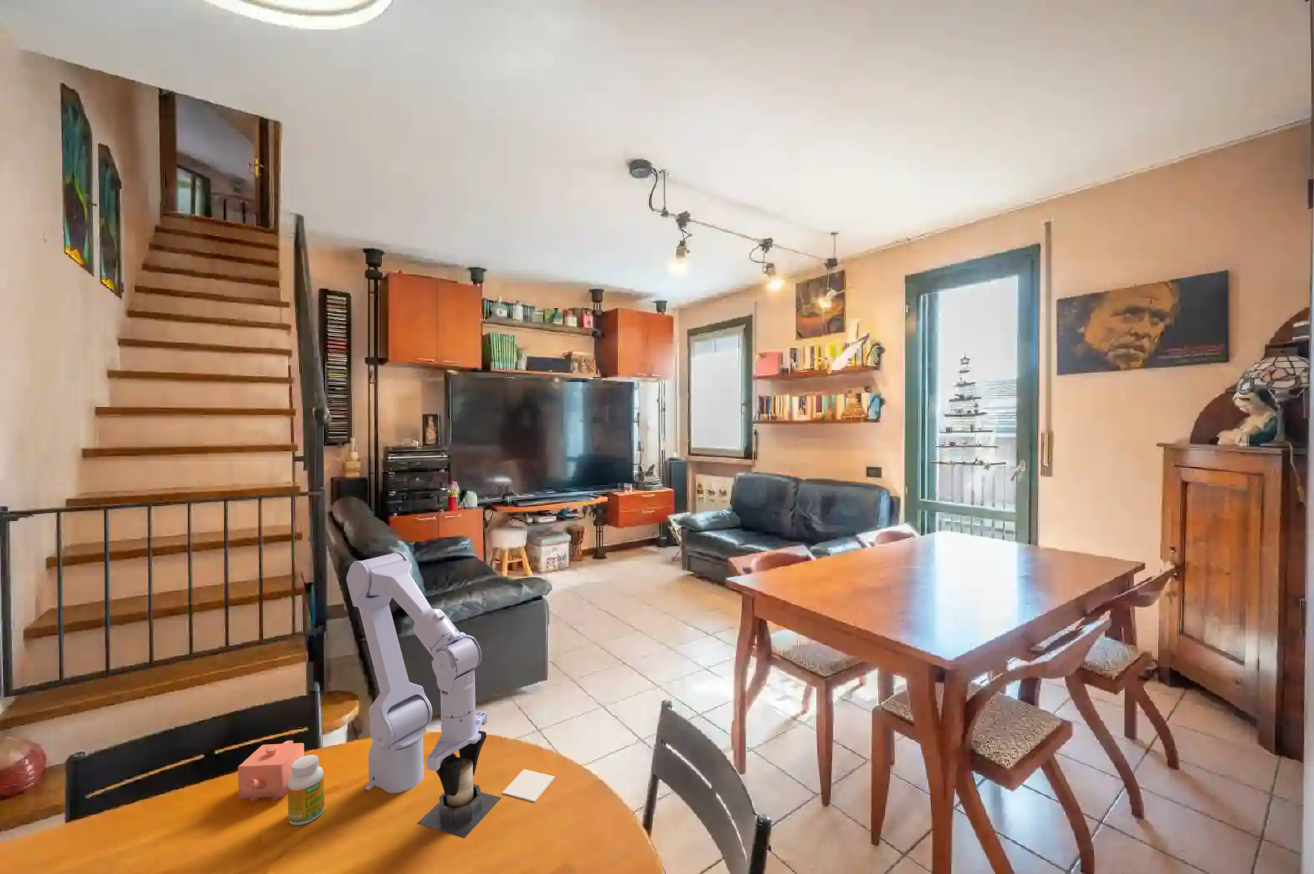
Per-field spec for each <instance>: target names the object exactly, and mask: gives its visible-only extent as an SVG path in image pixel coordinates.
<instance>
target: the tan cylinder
mask: <svg viewBox="0 0 1314 874" xmlns="http://www.w3.org/2000/svg"><path fill="white" fill-rule="evenodd" d="M473 784H474V776H473V762H472V760H471V759H468V758H464V761H463V763H462V766H461V769H460V774H459V787H458V792H457V794H456V795H455V796H450V795H447V807H451V808H454V809H455V808H459V807H462V806H465V805H468V804H470V803H471V802H472V801H473Z"/></svg>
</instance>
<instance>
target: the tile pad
mask: <svg viewBox="0 0 1314 874" xmlns="http://www.w3.org/2000/svg"><path fill="white" fill-rule="evenodd" d="M555 779H556V777H555V775H550V774H546V773H541V772H537V771H534V770H530V769H525V768H523V770H522V771H520V773H519V774H518V775H517V776H516V777H515V778H514V779H513V780H512V782H510V784H509V785H508V786H507V787H506V788H505V789H504V790H503V791H502V793H501V794H503V795H506V796H510V797H512V798H513V797H514V798H518V799H521V800H524V801H528V802H532V803H536V802H537V801H538V800H539V798H540V797H541V796H542V795H543V794H544V792H545V791H546V790H547V788H548V787H549V786H550V785H551V784H552V783H553V781H554V780H555Z"/></svg>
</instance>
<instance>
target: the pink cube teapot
mask: <svg viewBox="0 0 1314 874" xmlns="http://www.w3.org/2000/svg"><path fill="white" fill-rule="evenodd" d="M304 756H305V743H303V742H296V743H294V740H286V741H284V742H283V743H273V744H271V743H270V744H262V745H261V746H259V747H258V748H257V749H256V750H255V751H253V753H251V754H250V756H248V758H246V759H245V760H244V761H243V762H242V763H240V764H239V765H238V766H237V780H238V781H237V782H238V799H243V800H244V799H249V801H250V802H256V801H257V800H259V799H261V798H271V800H272V801H276V800H280V799H282V798H283V797H285V795H286V794H288V780H289V778H290V776H291V775H292V764H293V763H294V762H295V761H296V760H297V759H299V758H301V757H304Z"/></svg>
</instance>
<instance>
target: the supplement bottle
mask: <svg viewBox="0 0 1314 874" xmlns="http://www.w3.org/2000/svg"><path fill="white" fill-rule="evenodd" d="M287 805H288V806H287V807H288V809H287V810H288V813H287V814H288V822H289V824H291V825H293V826H301V825H306V824H309V823H311V822H313V821H315V820H317V818H319V817H320V816H321V815H322V814H323V812H324V810H325V775H324V770H323V768H322V767H321V766H320V765H319V756H318V755H315V754H308V755H304V757H301V758H299V759H297V760H296V761H295V762H294V763H293V764H292V775H291V776H290V778H289V780H288V792H287Z"/></svg>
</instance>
